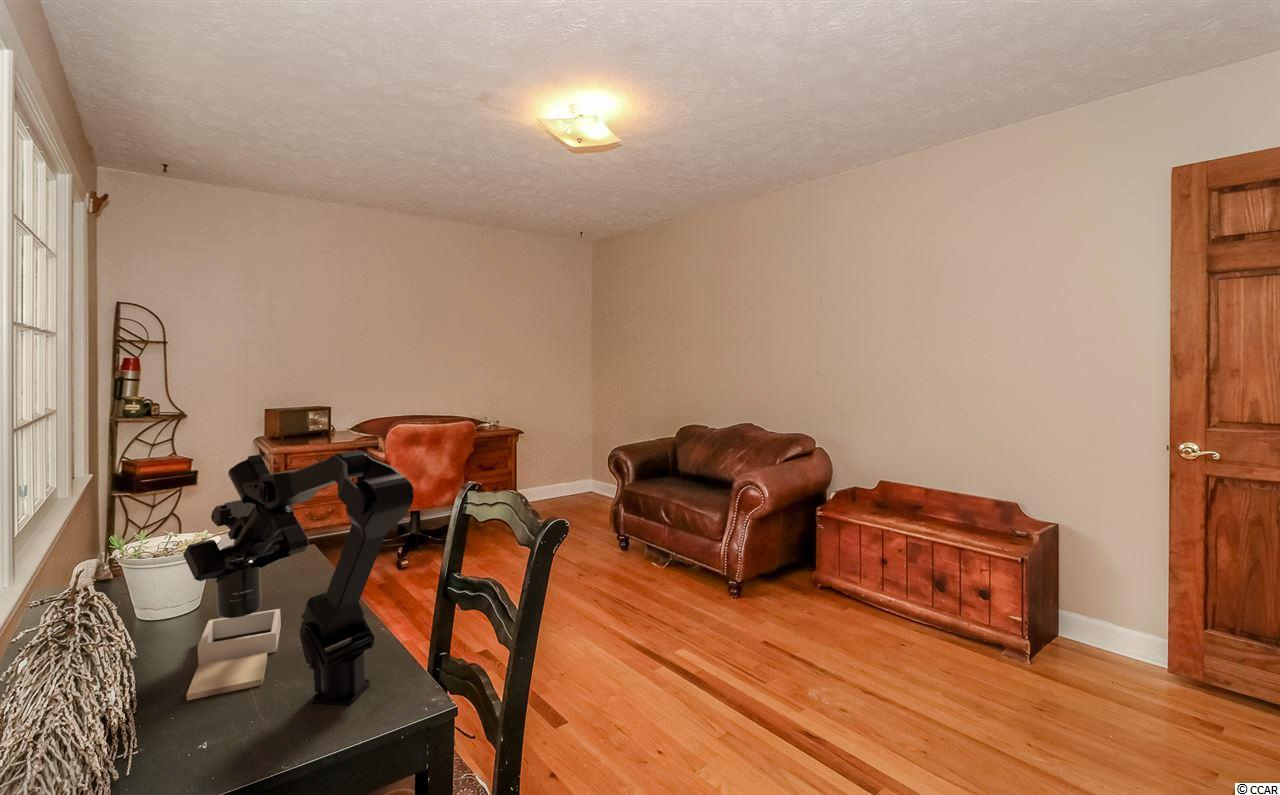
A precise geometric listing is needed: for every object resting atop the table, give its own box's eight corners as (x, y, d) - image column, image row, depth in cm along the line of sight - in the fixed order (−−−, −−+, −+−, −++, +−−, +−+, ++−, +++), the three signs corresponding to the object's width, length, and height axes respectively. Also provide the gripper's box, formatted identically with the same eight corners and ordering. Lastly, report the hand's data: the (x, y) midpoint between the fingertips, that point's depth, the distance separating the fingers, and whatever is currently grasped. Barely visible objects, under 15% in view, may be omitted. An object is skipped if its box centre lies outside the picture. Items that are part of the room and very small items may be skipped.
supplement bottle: (240, 620, 109) (237, 554, 108) (207, 617, 110) (204, 551, 109) (271, 605, 115) (267, 542, 114) (239, 602, 117) (236, 540, 116)
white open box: (280, 625, 121) (280, 608, 121) (276, 651, 111) (275, 632, 111) (209, 638, 116) (208, 620, 116) (198, 666, 106) (197, 646, 106)
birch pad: (267, 657, 109) (267, 652, 109) (262, 684, 100) (261, 679, 100) (198, 670, 104) (198, 664, 104) (186, 700, 96) (186, 694, 96)
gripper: (297, 478, 117) (267, 527, 123) (185, 498, 101) (157, 553, 107) (324, 524, 114) (292, 572, 120) (212, 553, 97) (182, 606, 104)
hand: (234, 574), depth 113 cm, fingers closed on supplement bottle, 7 cm apart
